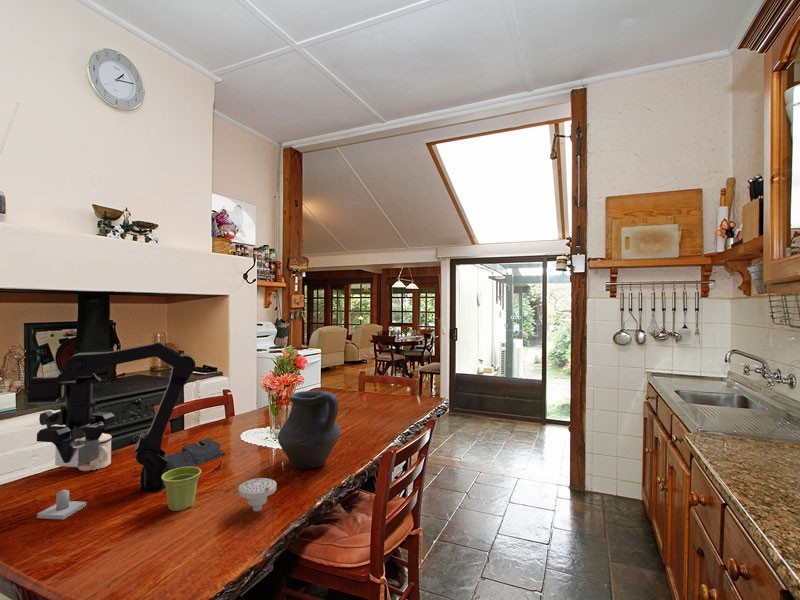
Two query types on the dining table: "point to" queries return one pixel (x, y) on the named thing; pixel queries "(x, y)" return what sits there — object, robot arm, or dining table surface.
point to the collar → (80, 453)
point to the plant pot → (181, 487)
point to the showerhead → (257, 491)
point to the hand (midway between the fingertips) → (77, 457)
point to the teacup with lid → (100, 454)
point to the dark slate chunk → (195, 454)
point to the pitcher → (310, 429)
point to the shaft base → (63, 512)
